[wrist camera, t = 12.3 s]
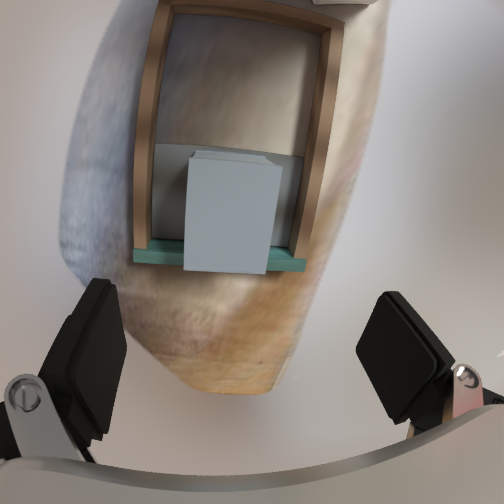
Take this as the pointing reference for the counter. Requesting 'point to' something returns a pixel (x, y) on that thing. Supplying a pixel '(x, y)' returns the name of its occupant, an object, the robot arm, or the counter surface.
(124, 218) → the counter surface
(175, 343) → the counter surface
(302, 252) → the bay
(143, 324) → the counter surface
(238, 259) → the grey block
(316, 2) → the milk carton
